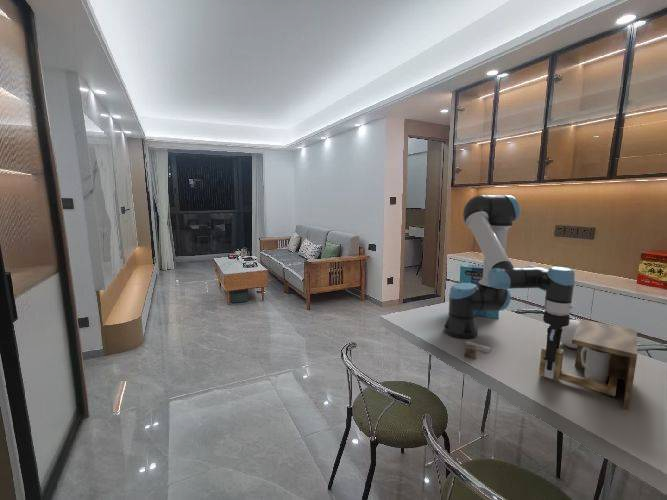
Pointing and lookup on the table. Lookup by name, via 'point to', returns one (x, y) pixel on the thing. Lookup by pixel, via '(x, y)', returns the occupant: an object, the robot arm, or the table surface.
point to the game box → (474, 276)
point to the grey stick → (479, 346)
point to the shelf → (610, 349)
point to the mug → (596, 364)
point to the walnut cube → (470, 351)
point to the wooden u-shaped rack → (578, 380)
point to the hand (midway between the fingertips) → (549, 374)
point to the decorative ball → (569, 333)
